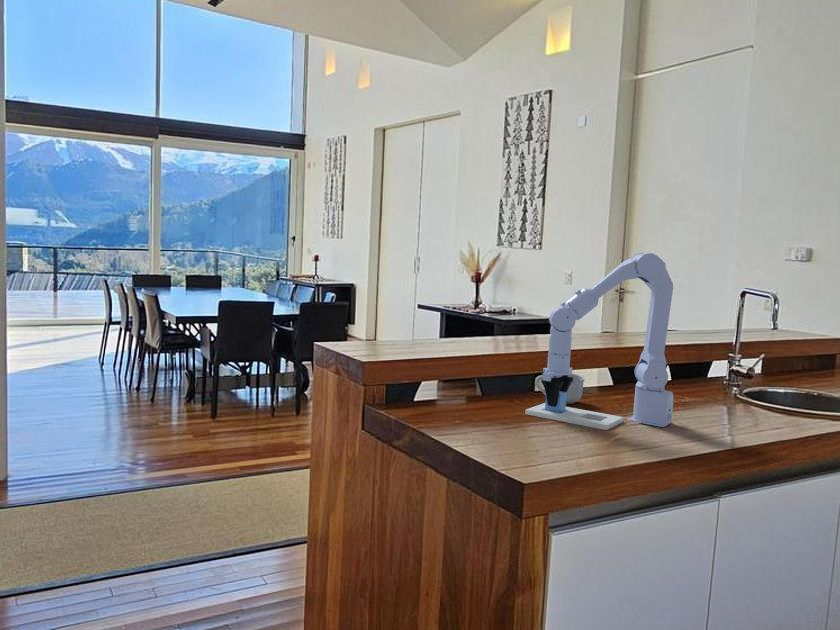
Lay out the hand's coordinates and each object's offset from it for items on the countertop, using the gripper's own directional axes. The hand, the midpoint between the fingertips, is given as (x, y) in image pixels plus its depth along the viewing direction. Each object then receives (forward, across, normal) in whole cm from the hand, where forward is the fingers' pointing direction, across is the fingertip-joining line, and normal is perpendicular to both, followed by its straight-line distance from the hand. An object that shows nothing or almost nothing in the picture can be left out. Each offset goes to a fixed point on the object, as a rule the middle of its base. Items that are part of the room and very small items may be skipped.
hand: (555, 404), depth 187 cm
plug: (+2, 0, 0) cm, 2 cm away
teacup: (+3, -17, -7) cm, 19 cm away
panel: (+3, 0, +5) cm, 6 cm away
